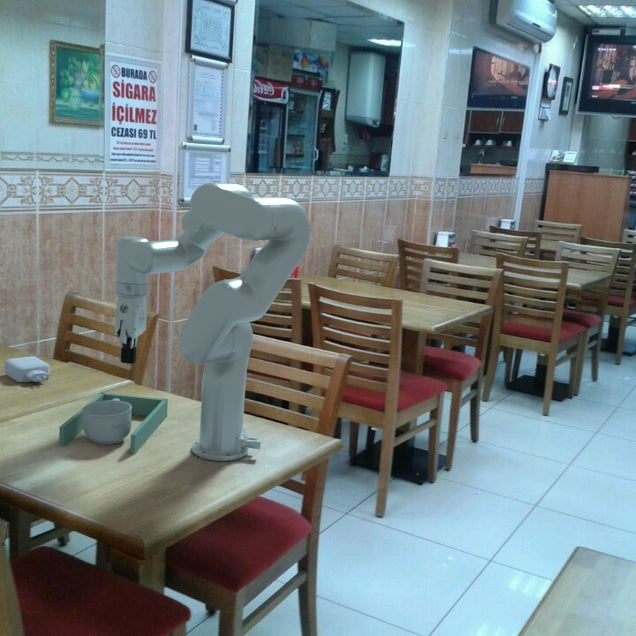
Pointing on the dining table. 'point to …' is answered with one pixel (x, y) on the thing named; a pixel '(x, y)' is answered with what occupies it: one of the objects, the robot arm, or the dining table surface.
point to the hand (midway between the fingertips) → (128, 362)
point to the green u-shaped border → (140, 406)
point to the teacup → (107, 421)
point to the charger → (27, 369)
